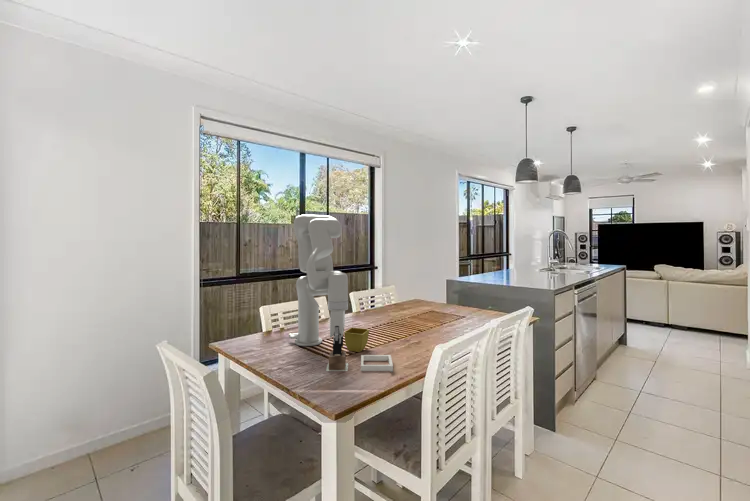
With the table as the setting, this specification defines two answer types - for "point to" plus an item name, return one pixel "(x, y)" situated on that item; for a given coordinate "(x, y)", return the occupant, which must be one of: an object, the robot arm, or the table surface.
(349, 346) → the flower pot
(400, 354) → the table surface
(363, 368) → the light grey square frame
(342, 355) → the napkin ring
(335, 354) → the peg stand
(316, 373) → the table surface
